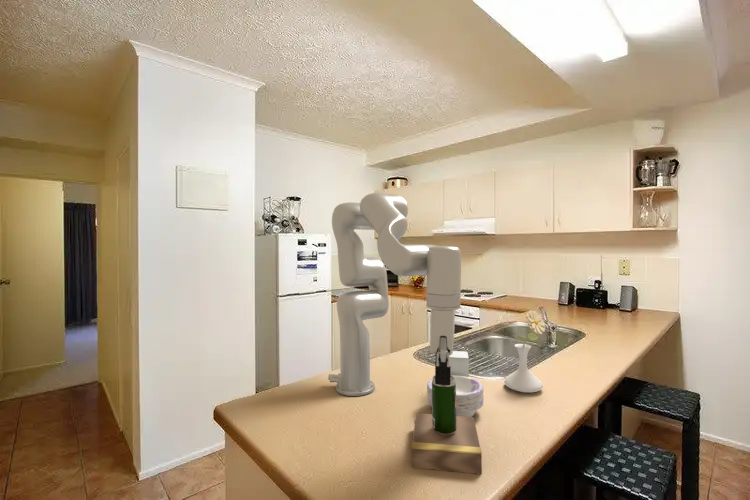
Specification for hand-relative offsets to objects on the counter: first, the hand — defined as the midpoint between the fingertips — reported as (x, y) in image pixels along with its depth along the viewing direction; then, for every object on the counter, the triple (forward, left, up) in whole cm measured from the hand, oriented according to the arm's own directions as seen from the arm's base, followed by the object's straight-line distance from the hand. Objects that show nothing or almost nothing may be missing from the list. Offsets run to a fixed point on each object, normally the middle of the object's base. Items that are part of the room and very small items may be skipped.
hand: (442, 375), depth 82 cm
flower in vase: (+26, +38, -17) cm, 50 cm away
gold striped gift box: (+1, -1, -16) cm, 16 cm away
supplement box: (+4, +30, -17) cm, 35 cm away
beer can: (0, 0, -13) cm, 13 cm away
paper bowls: (+4, +18, -17) cm, 25 cm away
